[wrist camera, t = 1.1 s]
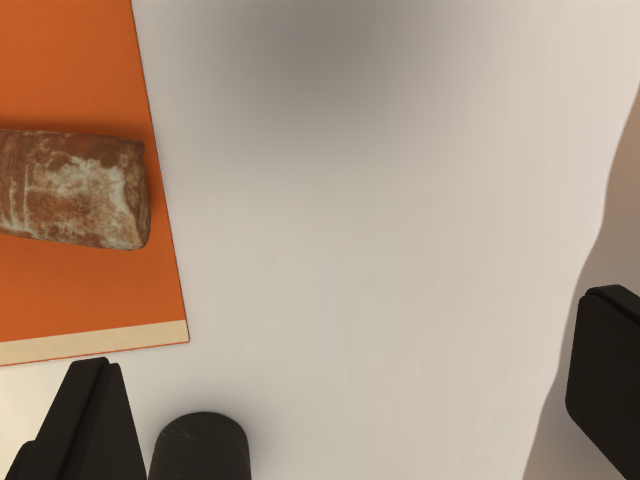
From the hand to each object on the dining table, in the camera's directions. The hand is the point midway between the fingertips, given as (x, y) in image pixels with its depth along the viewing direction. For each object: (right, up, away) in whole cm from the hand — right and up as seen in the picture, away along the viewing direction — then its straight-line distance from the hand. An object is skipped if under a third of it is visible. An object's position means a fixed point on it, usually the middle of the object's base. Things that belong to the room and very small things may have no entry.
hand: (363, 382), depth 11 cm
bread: (-20, +7, +20) cm, 29 cm away
